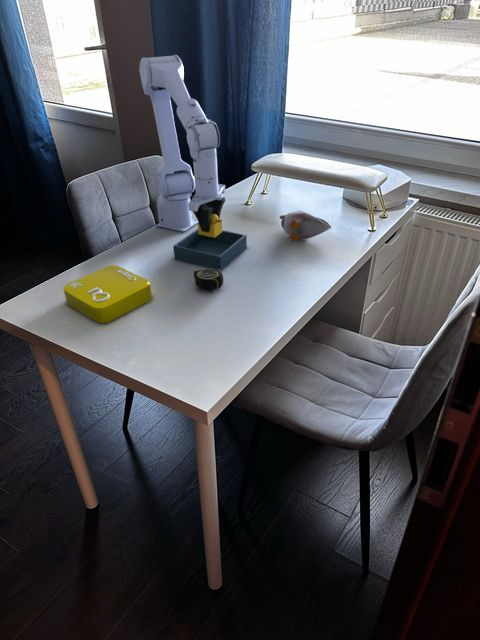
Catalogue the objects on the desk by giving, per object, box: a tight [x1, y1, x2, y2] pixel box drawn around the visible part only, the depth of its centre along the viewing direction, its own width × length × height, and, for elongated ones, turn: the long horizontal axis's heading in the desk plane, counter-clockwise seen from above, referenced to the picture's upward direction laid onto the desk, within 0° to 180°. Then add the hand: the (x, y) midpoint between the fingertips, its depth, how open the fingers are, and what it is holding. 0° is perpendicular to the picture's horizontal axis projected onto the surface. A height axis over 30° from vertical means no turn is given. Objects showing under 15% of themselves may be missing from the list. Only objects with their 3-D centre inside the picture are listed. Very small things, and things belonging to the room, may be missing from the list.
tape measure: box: [193, 268, 224, 292], centre depth 121 cm, size 7×7×4 cm
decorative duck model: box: [279, 210, 332, 243], centre depth 143 cm, size 15×8×15 cm
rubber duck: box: [197, 214, 223, 238], centre depth 131 cm, size 6×4×5 cm, turn 64°
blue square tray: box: [172, 228, 248, 271], centre depth 135 cm, size 14×14×4 cm
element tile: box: [62, 264, 153, 325], centre depth 116 cm, size 15×15×5 cm
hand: (209, 228), depth 132 cm, fingers closed on rubber duck, 4 cm apart
